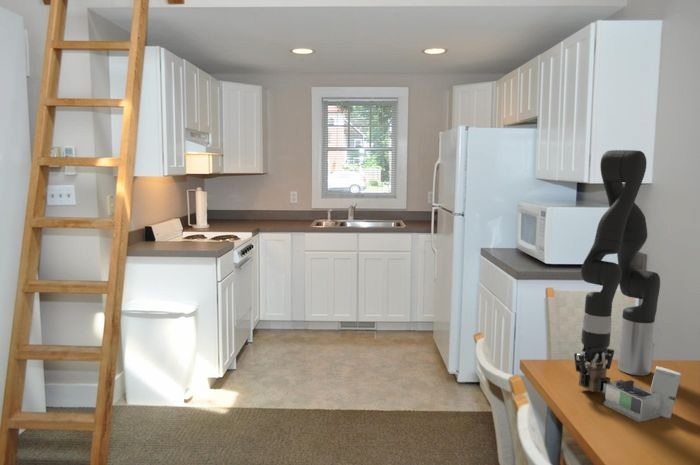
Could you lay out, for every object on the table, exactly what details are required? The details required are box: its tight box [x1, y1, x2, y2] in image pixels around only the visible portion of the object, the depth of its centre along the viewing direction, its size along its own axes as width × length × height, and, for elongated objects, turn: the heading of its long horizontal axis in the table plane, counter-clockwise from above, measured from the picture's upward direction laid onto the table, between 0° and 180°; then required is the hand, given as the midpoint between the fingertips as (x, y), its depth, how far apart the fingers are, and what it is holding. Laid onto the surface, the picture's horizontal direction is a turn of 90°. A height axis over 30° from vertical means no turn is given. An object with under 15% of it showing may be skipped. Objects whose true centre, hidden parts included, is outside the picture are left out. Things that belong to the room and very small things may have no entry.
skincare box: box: [649, 365, 682, 419], centre depth 146 cm, size 6×4×12 cm
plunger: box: [596, 376, 635, 395], centre depth 151 cm, size 6×10×6 cm, turn 24°
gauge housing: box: [603, 380, 661, 423], centre depth 147 cm, size 8×11×6 cm
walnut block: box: [578, 365, 608, 392], centre depth 159 cm, size 5×5×6 cm
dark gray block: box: [624, 379, 635, 392], centre depth 144 cm, size 2×1×3 cm, turn 114°
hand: (591, 384), depth 159 cm, fingers closed on walnut block, 5 cm apart
